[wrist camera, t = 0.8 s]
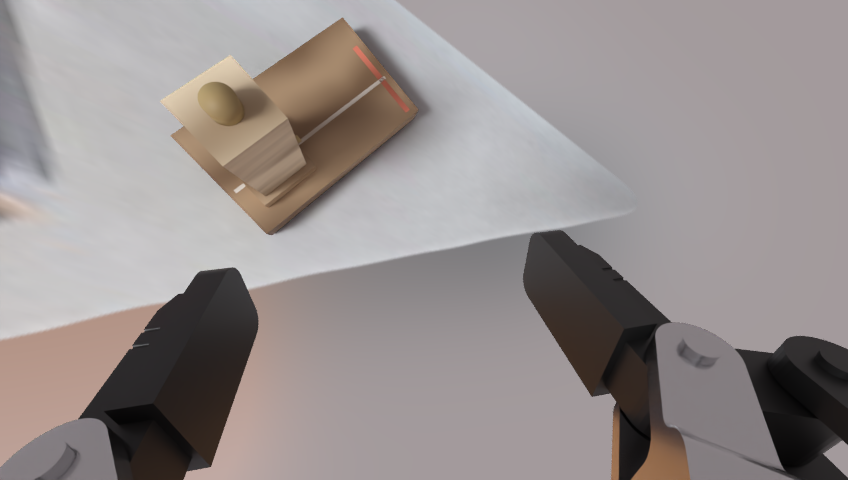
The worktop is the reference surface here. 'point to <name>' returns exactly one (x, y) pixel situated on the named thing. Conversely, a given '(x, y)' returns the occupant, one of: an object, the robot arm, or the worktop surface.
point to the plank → (319, 118)
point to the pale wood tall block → (242, 130)
